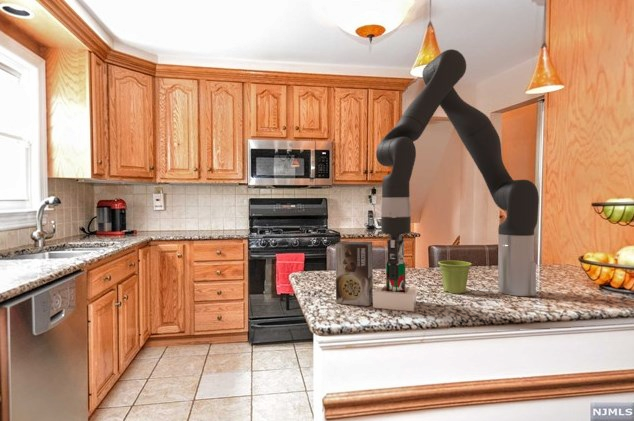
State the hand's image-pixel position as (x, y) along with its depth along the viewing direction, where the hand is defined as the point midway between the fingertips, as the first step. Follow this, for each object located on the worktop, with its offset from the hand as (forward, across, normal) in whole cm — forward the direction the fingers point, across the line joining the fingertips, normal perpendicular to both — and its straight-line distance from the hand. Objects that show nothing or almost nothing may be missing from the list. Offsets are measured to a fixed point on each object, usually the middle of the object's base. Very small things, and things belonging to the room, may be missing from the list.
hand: (396, 277), depth 95 cm
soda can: (+7, 0, 0) cm, 7 cm away
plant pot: (+8, -20, +15) cm, 26 cm away
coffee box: (+7, +1, -11) cm, 13 cm away
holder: (+7, 0, 0) cm, 7 cm away
